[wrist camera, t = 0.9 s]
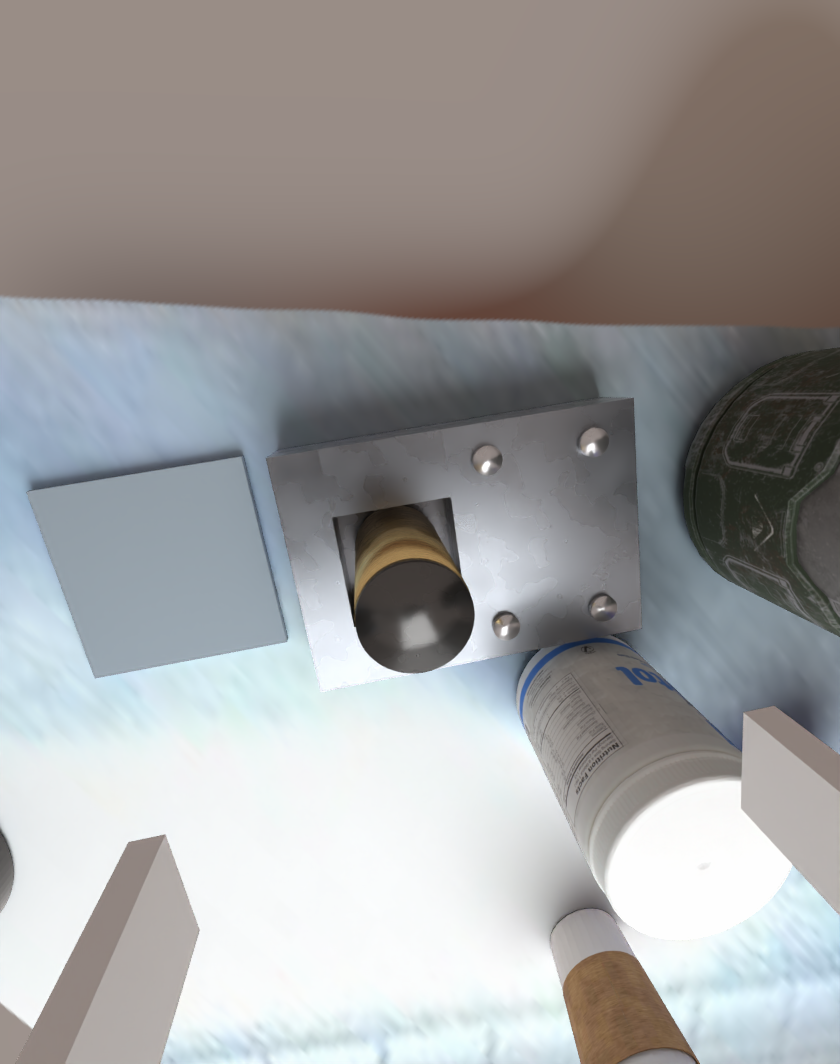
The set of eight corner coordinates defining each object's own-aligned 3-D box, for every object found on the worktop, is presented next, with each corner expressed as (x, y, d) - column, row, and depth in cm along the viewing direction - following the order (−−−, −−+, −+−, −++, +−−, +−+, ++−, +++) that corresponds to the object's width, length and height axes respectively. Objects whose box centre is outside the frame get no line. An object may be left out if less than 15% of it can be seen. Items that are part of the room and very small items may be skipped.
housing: (324, 658, 34) (319, 695, 30) (277, 450, 31) (264, 459, 26) (611, 603, 36) (645, 631, 32) (600, 397, 32) (637, 397, 28)
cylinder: (363, 591, 33) (366, 684, 22) (348, 513, 32) (343, 573, 21) (443, 576, 33) (482, 661, 23) (431, 498, 32) (468, 550, 21)
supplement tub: (661, 650, 37) (846, 805, 23) (603, 757, 39) (740, 962, 25) (545, 608, 35) (669, 750, 21) (489, 723, 37) (569, 925, 23)
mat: (99, 673, 33) (94, 678, 32) (32, 489, 30) (26, 491, 29) (288, 637, 34) (286, 642, 33) (243, 455, 30) (241, 456, 30)
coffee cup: (599, 878, 42) (723, 1129, 28) (647, 935, 45) (785, 1192, 30) (516, 935, 43) (596, 1209, 28) (568, 987, 45) (666, 1265, 31)
